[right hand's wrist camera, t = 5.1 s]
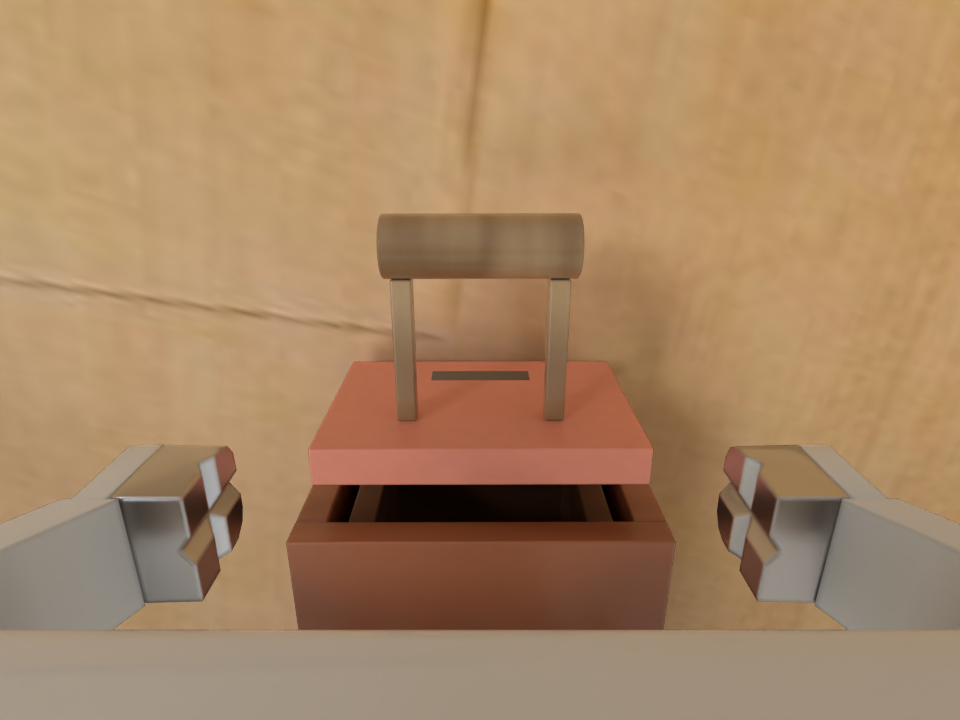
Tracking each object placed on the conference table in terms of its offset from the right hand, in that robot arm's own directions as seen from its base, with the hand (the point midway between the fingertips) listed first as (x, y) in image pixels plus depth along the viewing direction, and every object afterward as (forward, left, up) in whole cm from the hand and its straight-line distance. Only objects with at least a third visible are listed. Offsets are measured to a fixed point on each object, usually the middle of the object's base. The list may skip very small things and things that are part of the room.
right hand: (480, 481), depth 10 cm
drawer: (+8, -3, -13) cm, 16 cm away
